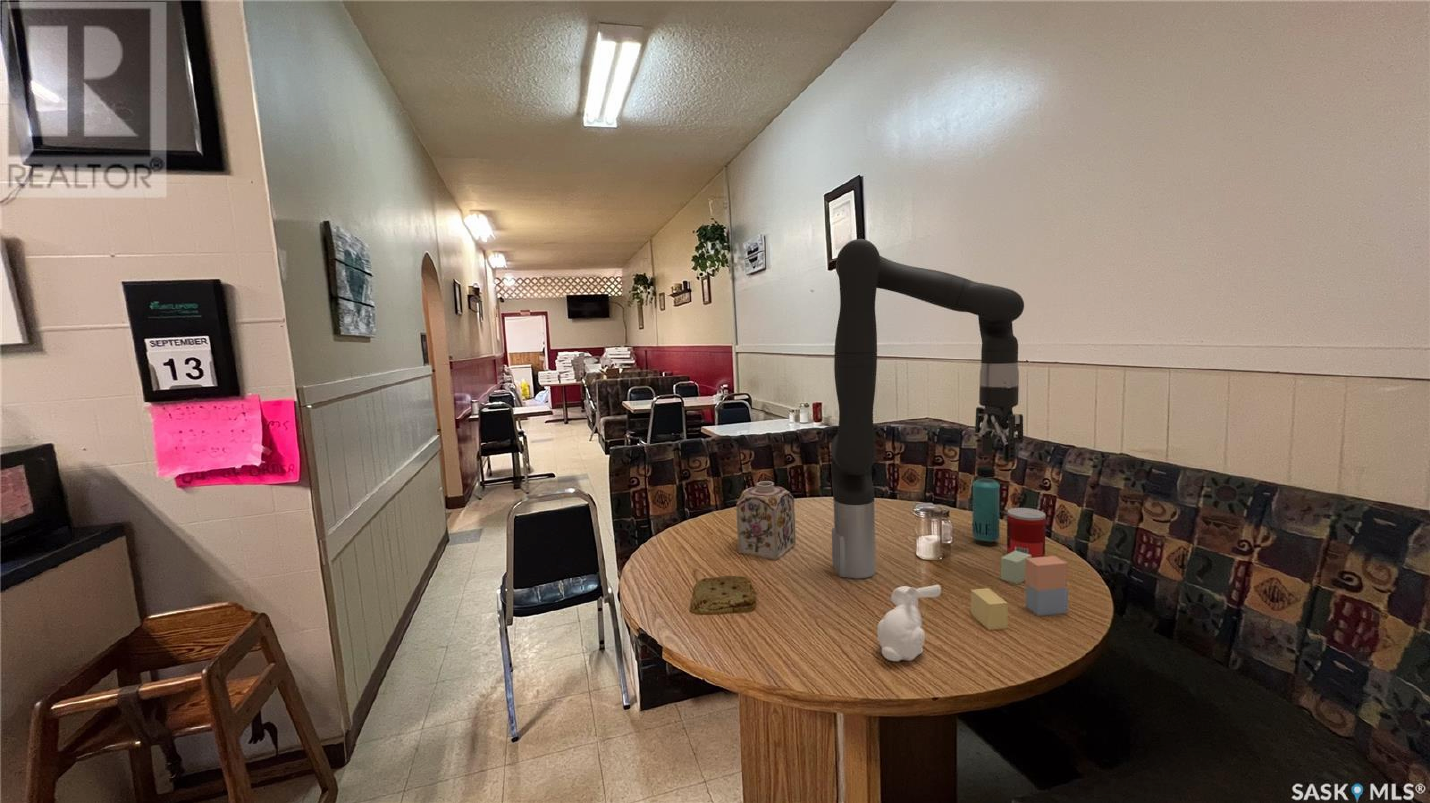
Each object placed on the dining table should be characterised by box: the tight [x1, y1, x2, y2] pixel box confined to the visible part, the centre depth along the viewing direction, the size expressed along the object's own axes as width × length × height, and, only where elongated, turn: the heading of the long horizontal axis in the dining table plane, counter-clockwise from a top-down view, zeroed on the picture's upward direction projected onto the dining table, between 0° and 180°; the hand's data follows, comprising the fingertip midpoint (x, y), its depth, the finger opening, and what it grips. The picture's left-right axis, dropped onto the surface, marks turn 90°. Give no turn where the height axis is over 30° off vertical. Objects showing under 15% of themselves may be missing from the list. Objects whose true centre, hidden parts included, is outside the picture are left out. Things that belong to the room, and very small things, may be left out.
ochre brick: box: [970, 587, 1009, 631], centre depth 102 cm, size 6×4×5 cm, turn 5°
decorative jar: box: [735, 480, 797, 561], centre depth 141 cm, size 12×12×18 cm
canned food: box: [1006, 507, 1047, 558], centre depth 129 cm, size 8×8×11 cm
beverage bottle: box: [971, 466, 1001, 542], centre depth 138 cm, size 6×7×20 cm
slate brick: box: [1025, 583, 1069, 617], centre depth 105 cm, size 6×4×5 cm, turn 95°
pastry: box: [689, 575, 757, 616], centre depth 116 cm, size 17×17×3 cm
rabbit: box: [876, 584, 942, 662], centre depth 93 cm, size 12×9×12 cm
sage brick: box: [1000, 551, 1031, 585], centre depth 119 cm, size 6×4×5 cm, turn 124°
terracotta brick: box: [1024, 555, 1068, 591], centre depth 104 cm, size 6×4×5 cm, turn 94°
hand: (997, 457), depth 118 cm, fingers open, 8 cm apart
